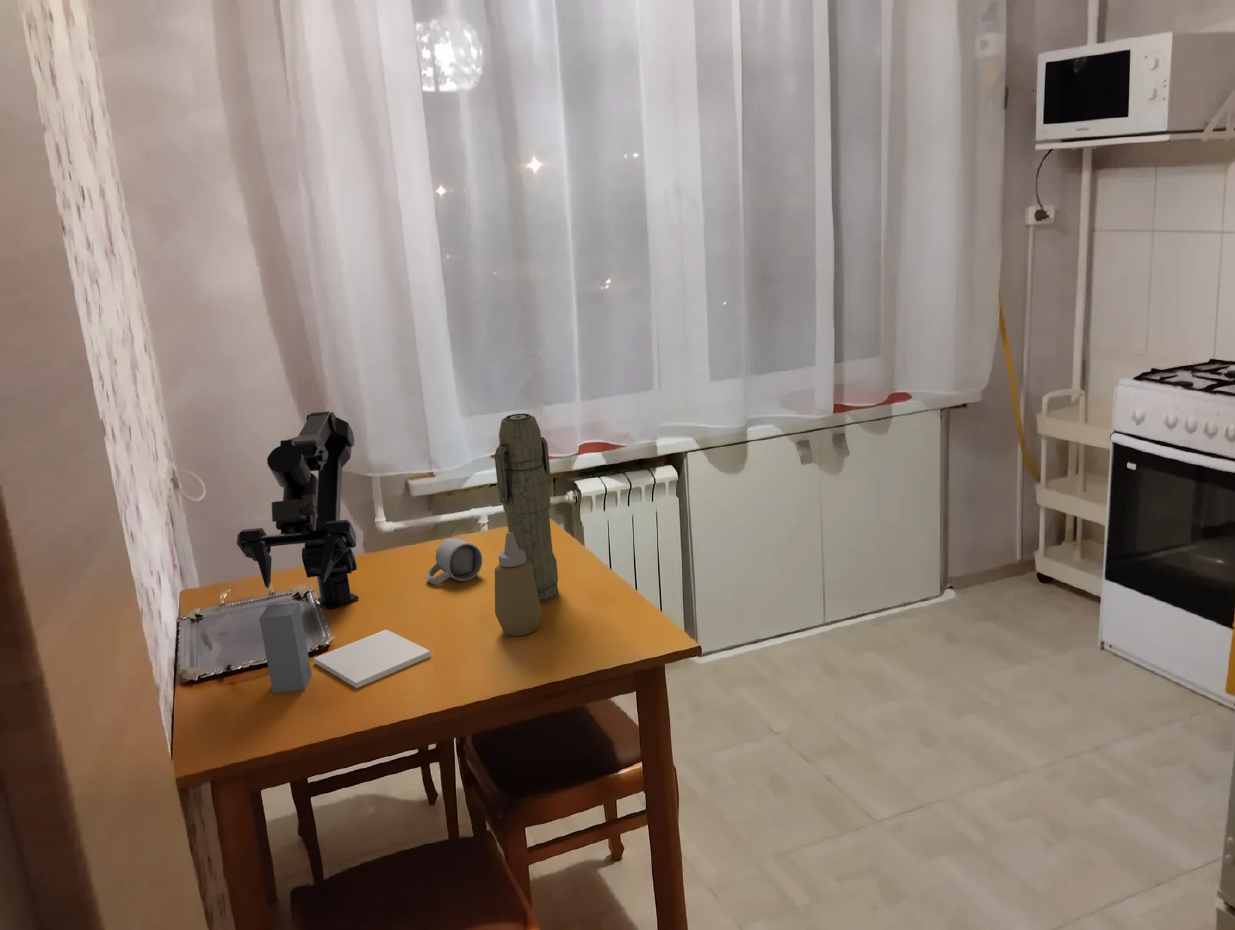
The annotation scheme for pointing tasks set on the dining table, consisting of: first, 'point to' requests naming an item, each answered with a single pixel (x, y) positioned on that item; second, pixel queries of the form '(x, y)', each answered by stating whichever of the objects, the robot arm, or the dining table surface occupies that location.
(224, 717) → the dining table surface
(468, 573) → the ceramic mug
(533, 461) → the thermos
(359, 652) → the white plate
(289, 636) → the tall block
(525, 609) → the squeeze bottle
